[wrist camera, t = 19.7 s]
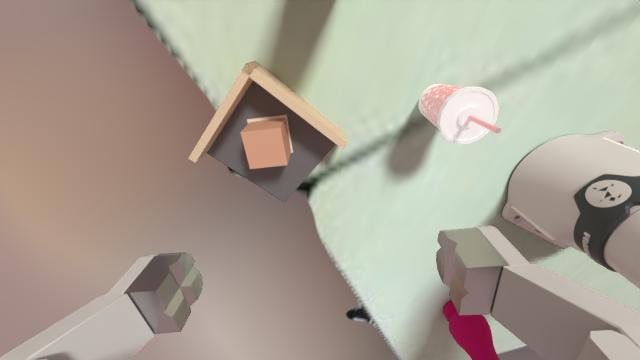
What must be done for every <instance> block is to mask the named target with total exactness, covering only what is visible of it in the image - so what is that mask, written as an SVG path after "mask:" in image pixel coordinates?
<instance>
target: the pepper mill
mask: <svg viewBox="0 0 640 360" xmlns="http://www.w3.org/2000/svg"><path fill="white" fill-rule="evenodd" d="M443 312H444V314H445V316H446V318H447V320H448V321H449V330H450V333H451V334H452V336H453V338H454V339H455V340H456V342H457V343H458V344H459V345H460V346H461V347H462V348H463V349H464V350H465V351H466V352H467V353H468V355H469V356H470V357H471V358H472V360H499V358H498V356H497V354H496V352H495V349H494V346H493V340H492V334H491V330H490V326H489V324H488V322H487V320H486V319H485V318H484V316H482V315H459V314H458V312H457V310H456V308H455V306H454V304H453V302H452V300H451V301H449V302H448V303H447V304H446V305H445V306H444V309H443Z"/></svg>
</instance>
